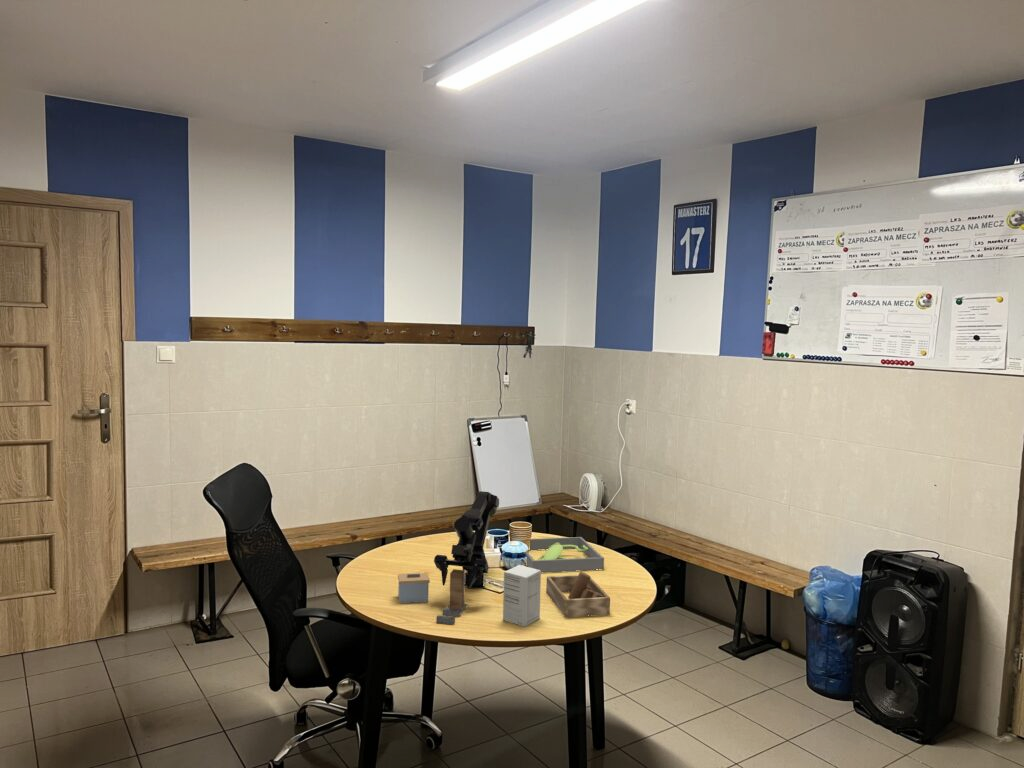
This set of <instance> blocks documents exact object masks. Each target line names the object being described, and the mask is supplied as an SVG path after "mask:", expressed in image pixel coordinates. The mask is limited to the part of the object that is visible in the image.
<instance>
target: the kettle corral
mask: <svg viewBox="0 0 1024 768" xmlns="http://www.w3.org/2000/svg"><path fill="white" fill-rule="evenodd" d="M529 539H530V551H529V552H532V551H531V550H537V551H539V550H538V549H548V547H549V546H551V545H553V544H555V543H557V542H558V543H560V545H576V546H578V548H579V549H581V550H584V548H583V545H585V547H587V548H588V551H585V552H582V553H583V554H584V555H585V556H586V555H587V556H588V557H589V558H588V557H587V556H586V557H581V558H575V557H574V558H567V559H559V558H557V559H554V560H543V559H541V560H538V559H537V560H536V559H534V557H533V556H532V555H531V554H530V553H529V552H528V554H527V566H528V567H530V568H534V569H538V570H541V574H543V573H542V572H553V573H563V572H562V571H573V572H577V571H576V570H594V571H600V570H599V569H604V568H605V557H604V556H603V555H601V553H599V552H598V551H597V550H596V549H595V548H594V547H593V546H592V545H591V544H590V543H588V541H586V540H585V539H584V538H583V537H582V536H575V537H571V536H570V537H549V538H548V537H546V538H529ZM575 549H576V548H570V547H567V548H563V550H575ZM576 550H577V549H576ZM532 557H533V558H532ZM527 566H526V567H527ZM596 569H598V570H596Z"/></svg>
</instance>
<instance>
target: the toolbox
mask: <svg viewBox="0 0 1024 768" xmlns="http://www.w3.org/2000/svg"><path fill="white" fill-rule="evenodd" d="M397 579H398V588H397V589H398V594H397V595H398V596H399V597H398V596H397V597H398V600H399V601H400V602H399V604H411V603H410V602H413V603H425V602H429V586H430V581H431V580H430V577H429V575H428V572H415V573H412V572H411V573H398V574H397Z"/></svg>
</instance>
